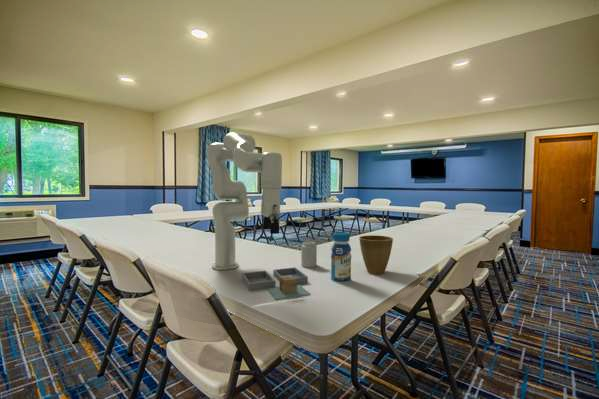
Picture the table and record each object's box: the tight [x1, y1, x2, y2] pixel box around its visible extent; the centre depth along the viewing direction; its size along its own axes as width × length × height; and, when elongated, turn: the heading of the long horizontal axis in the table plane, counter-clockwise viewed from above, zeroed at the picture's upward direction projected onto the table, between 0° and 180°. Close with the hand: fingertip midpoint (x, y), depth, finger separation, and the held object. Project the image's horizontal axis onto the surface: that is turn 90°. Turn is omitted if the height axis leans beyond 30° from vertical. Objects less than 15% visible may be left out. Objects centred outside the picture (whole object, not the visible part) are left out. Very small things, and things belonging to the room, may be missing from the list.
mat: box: [266, 284, 311, 301], centre depth 104 cm, size 11×13×1 cm
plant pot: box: [358, 234, 394, 275], centre depth 130 cm, size 15×15×16 cm
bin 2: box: [272, 267, 309, 285], centre depth 118 cm, size 14×10×3 cm
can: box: [300, 241, 318, 269], centre depth 138 cm, size 8×8×12 cm
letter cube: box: [279, 275, 297, 294], centre depth 104 cm, size 5×5×5 cm
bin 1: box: [241, 270, 276, 292], centre depth 113 cm, size 14×10×3 cm
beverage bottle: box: [330, 231, 352, 284], centre depth 117 cm, size 8×8×20 cm
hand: (270, 231), depth 107 cm, fingers open, 9 cm apart
